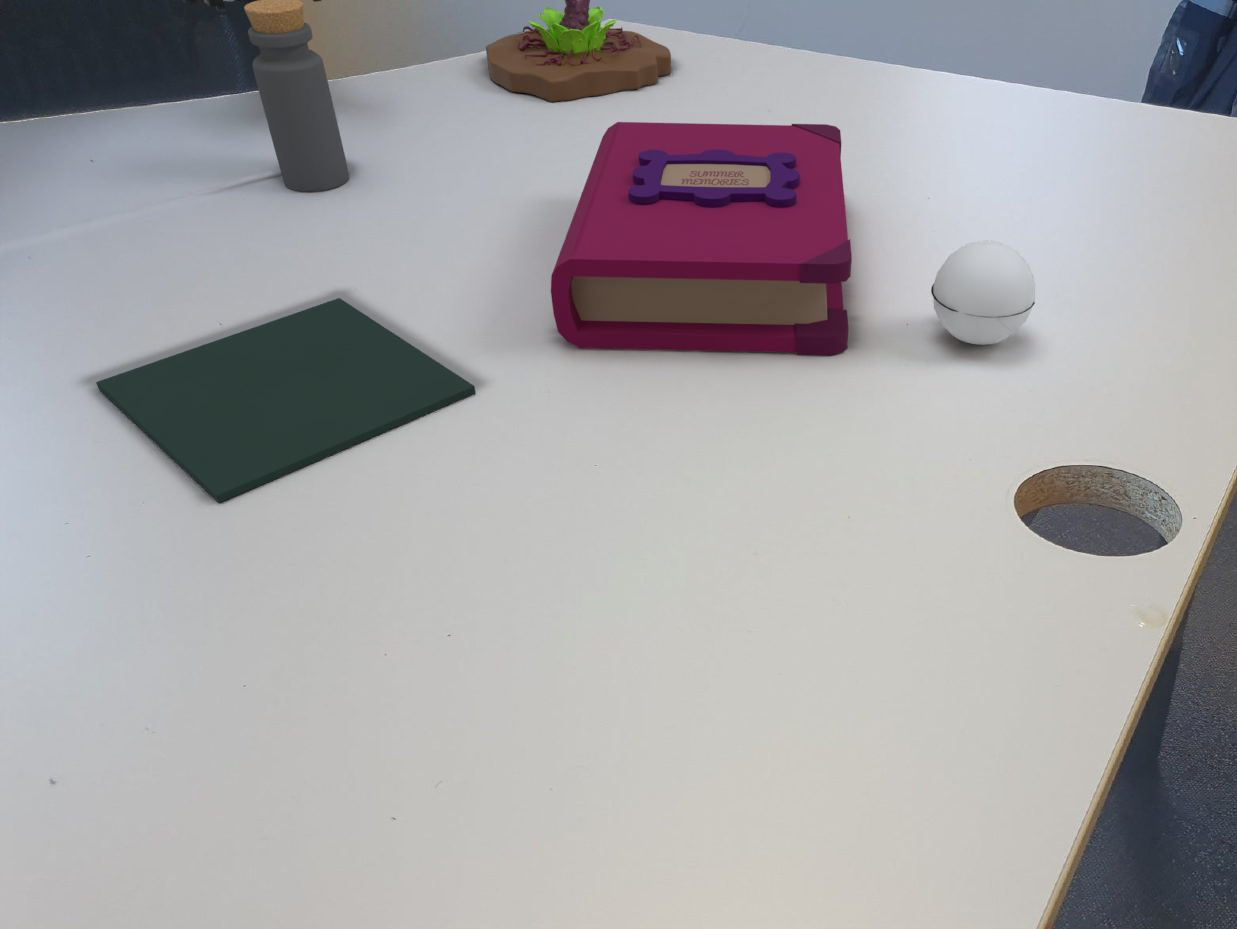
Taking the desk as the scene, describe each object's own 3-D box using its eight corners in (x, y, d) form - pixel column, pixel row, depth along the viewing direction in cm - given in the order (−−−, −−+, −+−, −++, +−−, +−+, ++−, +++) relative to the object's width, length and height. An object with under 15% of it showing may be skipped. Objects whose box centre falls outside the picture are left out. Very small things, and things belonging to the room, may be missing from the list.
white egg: (922, 314, 86) (932, 221, 81) (1018, 317, 86) (1035, 224, 81) (933, 381, 78) (945, 283, 74) (1039, 384, 78) (1058, 286, 74)
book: (557, 350, 81) (545, 250, 76) (606, 198, 102) (599, 112, 97) (847, 356, 81) (854, 256, 76) (836, 203, 102) (840, 117, 97)
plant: (456, 67, 131) (440, -40, 124) (593, 38, 141) (586, -63, 134) (553, 111, 120) (541, -3, 113) (694, 76, 130) (692, -31, 123)
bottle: (363, 175, 105) (324, 0, 96) (319, 196, 101) (274, 17, 92) (314, 164, 107) (271, -8, 98) (270, 185, 103) (220, 8, 93)
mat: (219, 503, 66) (216, 495, 66) (98, 389, 76) (95, 381, 75) (476, 393, 76) (474, 385, 76) (341, 304, 86) (339, 297, 85)
